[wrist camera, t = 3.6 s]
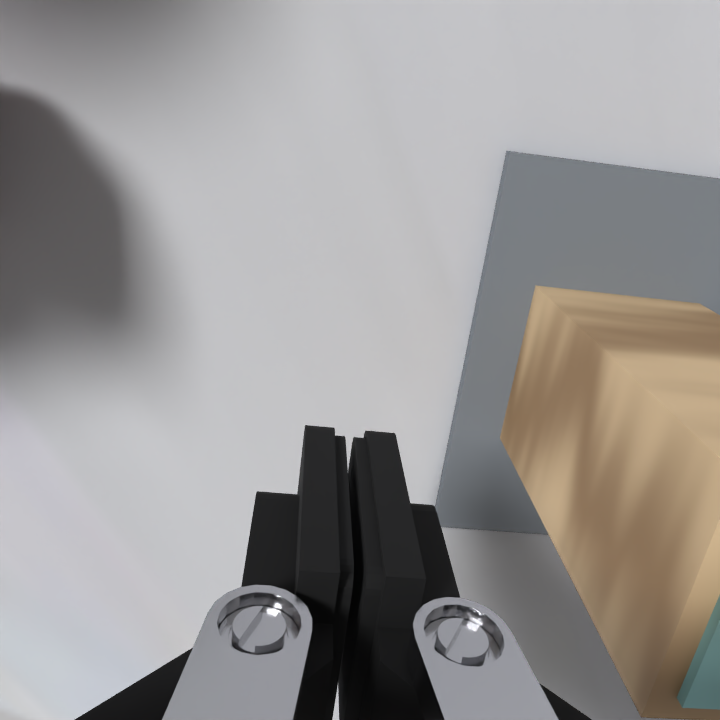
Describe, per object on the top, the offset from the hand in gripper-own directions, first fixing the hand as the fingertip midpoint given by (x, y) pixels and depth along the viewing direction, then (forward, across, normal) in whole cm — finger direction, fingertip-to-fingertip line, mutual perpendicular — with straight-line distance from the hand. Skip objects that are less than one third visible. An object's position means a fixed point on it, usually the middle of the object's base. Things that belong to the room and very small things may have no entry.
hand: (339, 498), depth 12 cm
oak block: (+8, -8, 0) cm, 11 cm away
